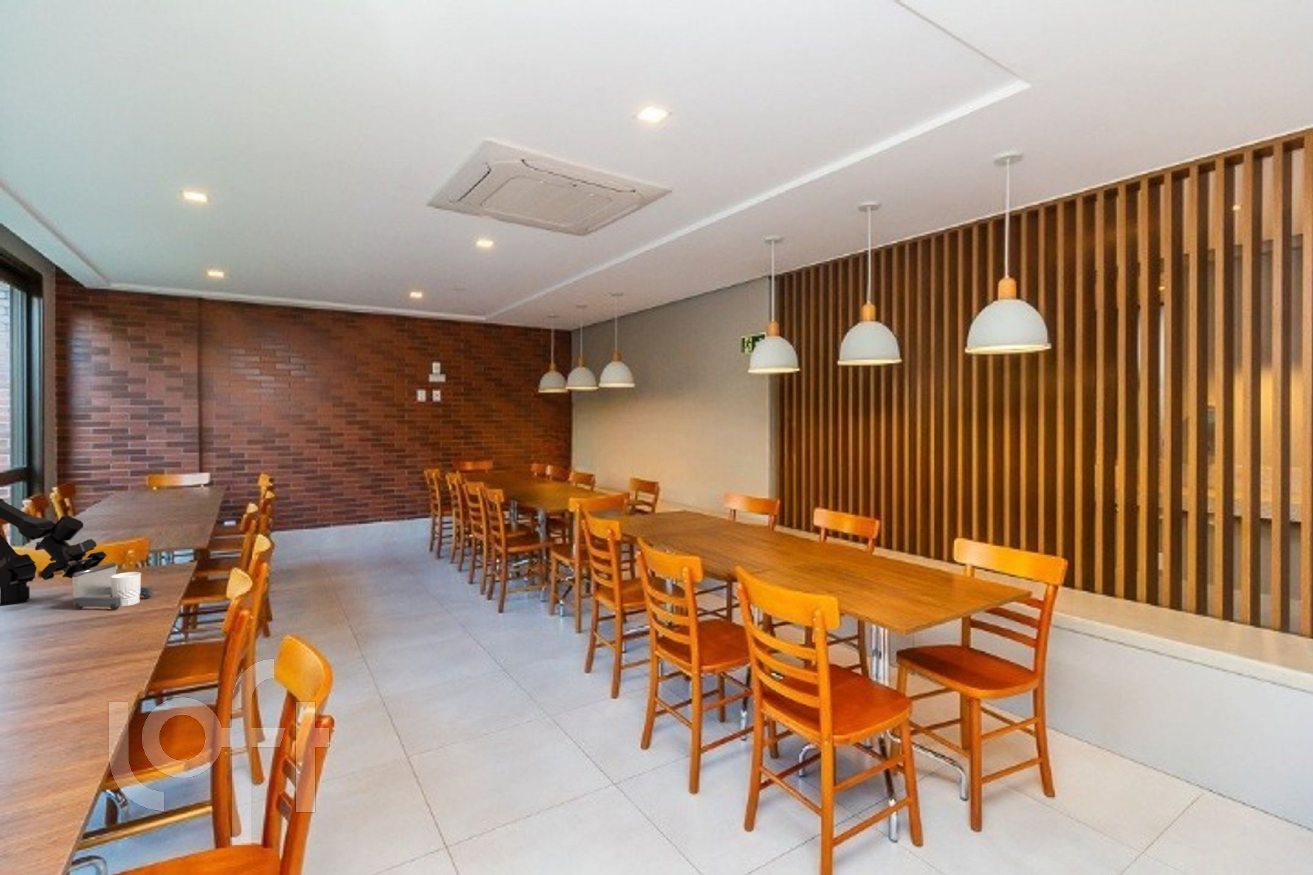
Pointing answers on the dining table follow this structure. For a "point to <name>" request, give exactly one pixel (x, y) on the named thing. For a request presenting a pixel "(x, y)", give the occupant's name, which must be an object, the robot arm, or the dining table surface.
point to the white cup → (126, 587)
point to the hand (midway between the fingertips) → (92, 582)
